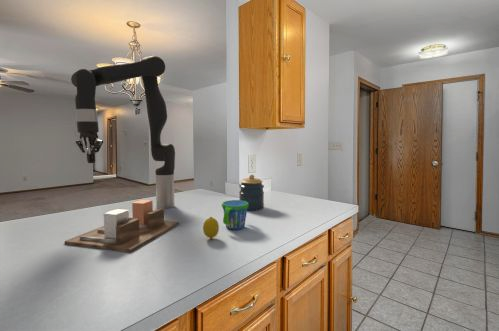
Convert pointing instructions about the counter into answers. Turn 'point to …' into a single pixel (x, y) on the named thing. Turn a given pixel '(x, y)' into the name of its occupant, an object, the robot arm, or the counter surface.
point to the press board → (127, 233)
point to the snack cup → (235, 214)
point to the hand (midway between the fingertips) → (91, 163)
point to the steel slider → (114, 221)
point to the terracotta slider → (141, 210)
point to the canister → (252, 193)
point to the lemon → (210, 227)
